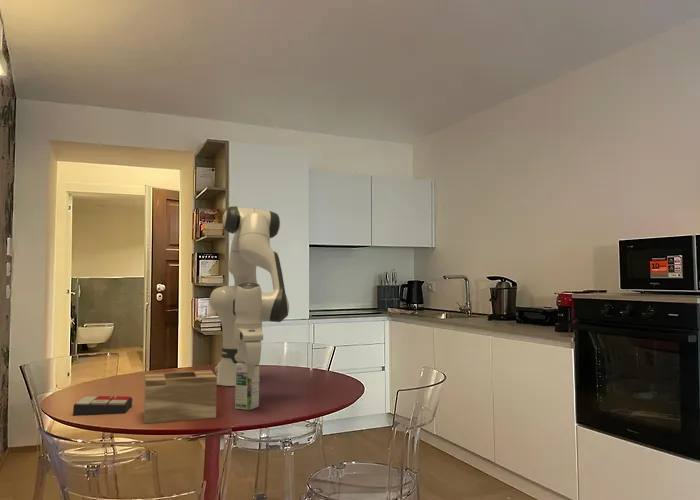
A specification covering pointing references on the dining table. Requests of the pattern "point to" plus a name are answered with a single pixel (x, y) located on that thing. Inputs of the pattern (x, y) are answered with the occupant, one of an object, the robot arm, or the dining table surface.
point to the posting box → (179, 396)
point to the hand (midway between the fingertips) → (247, 376)
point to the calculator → (102, 405)
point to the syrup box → (246, 388)
